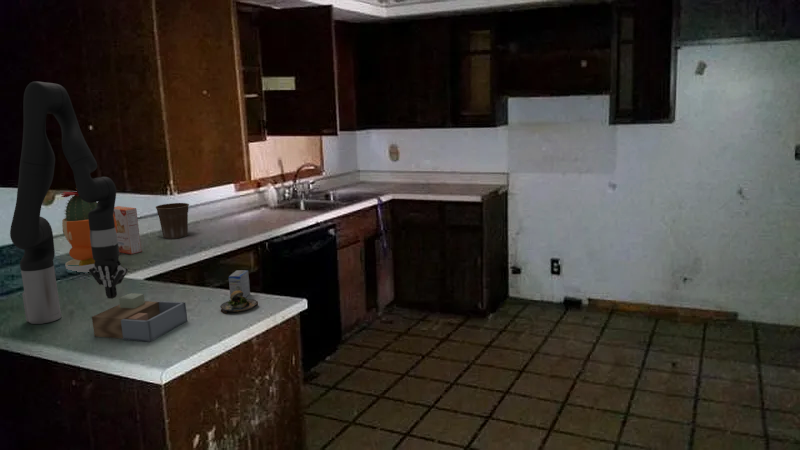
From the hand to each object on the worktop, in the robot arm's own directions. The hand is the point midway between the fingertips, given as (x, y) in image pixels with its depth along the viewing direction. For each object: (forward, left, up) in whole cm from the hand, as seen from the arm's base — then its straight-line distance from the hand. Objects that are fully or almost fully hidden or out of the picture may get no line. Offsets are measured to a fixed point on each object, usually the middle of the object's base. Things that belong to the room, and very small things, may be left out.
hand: (112, 297), depth 202 cm
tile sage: (+7, 0, -2) cm, 8 cm away
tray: (+18, -4, -8) cm, 20 cm away
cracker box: (-66, +86, -8) cm, 109 cm away
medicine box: (+26, +30, -8) cm, 41 cm away
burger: (+32, +19, -9) cm, 39 cm away
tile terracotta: (+13, -7, -5) cm, 16 cm away
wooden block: (+8, -4, -8) cm, 12 cm away
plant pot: (-64, +120, -8) cm, 136 cm away
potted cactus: (-60, +59, -8) cm, 85 cm away
